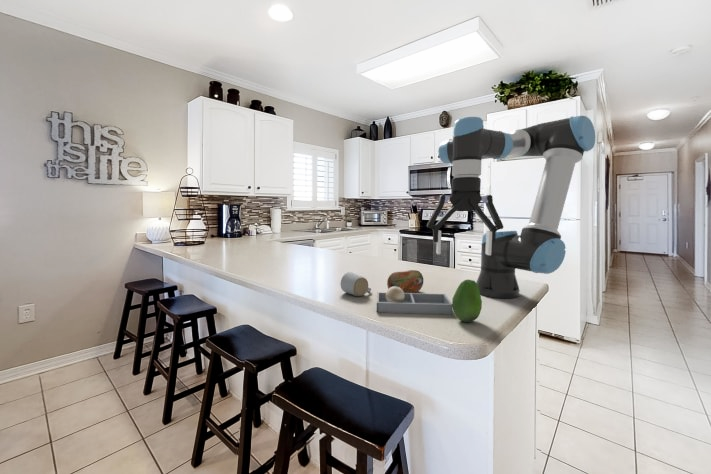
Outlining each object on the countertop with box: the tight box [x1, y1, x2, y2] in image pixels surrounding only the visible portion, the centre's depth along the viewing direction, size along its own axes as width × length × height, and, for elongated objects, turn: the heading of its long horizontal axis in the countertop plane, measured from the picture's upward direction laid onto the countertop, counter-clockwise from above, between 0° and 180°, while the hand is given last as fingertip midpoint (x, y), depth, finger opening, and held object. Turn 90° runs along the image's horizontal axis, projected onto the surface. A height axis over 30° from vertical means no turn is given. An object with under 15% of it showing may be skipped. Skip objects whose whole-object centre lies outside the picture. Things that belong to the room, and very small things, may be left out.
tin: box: [386, 269, 424, 293], centre depth 121 cm, size 15×3×8 cm, turn 117°
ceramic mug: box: [340, 271, 372, 297], centre depth 120 cm, size 11×8×8 cm
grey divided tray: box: [376, 291, 453, 315], centre depth 105 cm, size 23×12×3 cm, turn 86°
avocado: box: [451, 279, 483, 323], centre depth 92 cm, size 8×8×12 cm
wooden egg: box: [385, 286, 405, 303], centre depth 105 cm, size 6×6×6 cm
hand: (463, 254), depth 92 cm, fingers open, 13 cm apart
